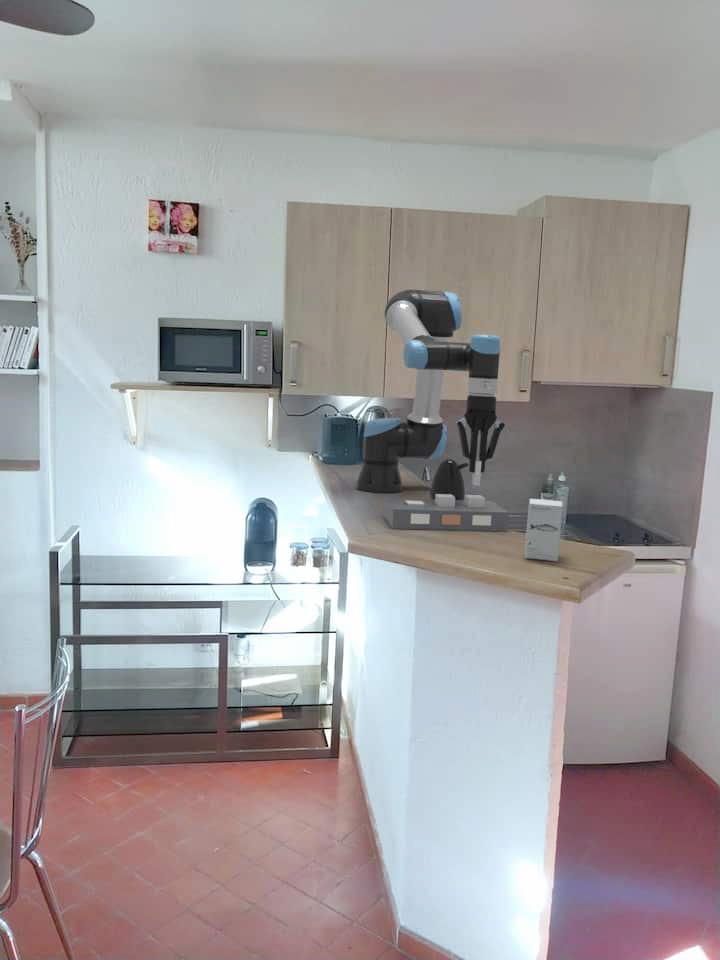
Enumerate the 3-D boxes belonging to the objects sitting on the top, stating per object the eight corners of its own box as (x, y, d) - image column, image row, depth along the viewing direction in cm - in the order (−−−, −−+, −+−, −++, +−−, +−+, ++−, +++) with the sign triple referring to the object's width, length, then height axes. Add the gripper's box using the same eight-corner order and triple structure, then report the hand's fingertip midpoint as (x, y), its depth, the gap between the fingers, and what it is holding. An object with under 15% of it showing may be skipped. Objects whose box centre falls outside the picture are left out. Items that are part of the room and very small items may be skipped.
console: (383, 516, 216) (384, 498, 215) (490, 518, 219) (491, 501, 219) (392, 529, 200) (393, 509, 199) (507, 531, 203) (509, 512, 203)
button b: (434, 509, 211) (435, 494, 211) (450, 510, 212) (451, 494, 211) (437, 513, 207) (438, 496, 206) (454, 513, 207) (455, 497, 207)
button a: (404, 516, 211) (405, 500, 210) (420, 516, 211) (421, 501, 210) (407, 519, 206) (408, 503, 206) (423, 520, 207) (424, 504, 206)
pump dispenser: (463, 515, 222) (467, 462, 220) (427, 512, 224) (430, 459, 222) (466, 509, 232) (470, 458, 230) (431, 506, 234) (434, 455, 232)
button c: (463, 510, 212) (464, 494, 212) (479, 511, 213) (480, 495, 212) (467, 513, 208) (468, 497, 207) (484, 514, 208) (485, 498, 208)
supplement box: (523, 559, 175) (528, 503, 174) (524, 551, 183) (529, 497, 181) (558, 562, 174) (563, 505, 172) (557, 554, 181) (562, 500, 179)
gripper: (460, 394, 201) (454, 486, 205) (510, 396, 203) (503, 487, 206) (454, 393, 209) (448, 481, 212) (502, 395, 210) (495, 483, 214)
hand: (475, 484), depth 209 cm, fingers closed
